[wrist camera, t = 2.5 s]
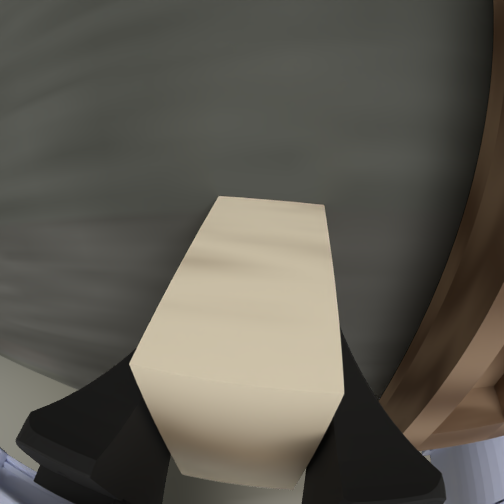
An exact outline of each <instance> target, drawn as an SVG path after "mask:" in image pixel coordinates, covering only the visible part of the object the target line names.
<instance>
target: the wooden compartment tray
mask: <svg viewBox="0 0 504 504" xmlns="http://www.w3.org/2000/svg"><path fill="white" fill-rule="evenodd" d="M493 9H494V39H493V60H492V73H491V84H490V93H489V101H488V108H487V115H486V121H485V127H484V132H483V138H482V143H481V148H480V153H479V157H478V162H477V166H476V170H475V175H474V179H473V182H472V186H471V190H470V194H469V197H468V201H467V204H466V208H465V211H464V214H463V218H462V221H461V224H460V227H459V230H458V233H457V236H456V239H455V242H454V245H453V248H452V250H451V253H450V256H449V259H448V261H447V264H446V267H445V269H444V272H443V274H442V277H441V279H440V282H439V284H438V286H437V289H436V291H435V294H434V296H433V298H432V301H431V303H430V305H429V307H428V309H427V312H426V314H425V316H424V318H423V320H422V322H421V325H420V327H419V329H418V331H417V333H416V335H415V337H414V339H413V341H412V343H411V345H410V347H409V349H408V350H407V352H406V354H405V356H404V358H403V360H402V362H401V364H400V365H399V367H398V369H397V371H396V373H395V374H394V376H393V378H392V380H391V381H390V383H389V385H388V386H387V388H386V390H385V392H384V393H383V395H382V396H381V398H380V400H379V403H380V404H381V406H382V407H383V409H384V410H385V411H386V413H387V414H388V416H389V417H390V418H391V420H392V421H393V422H394V423H395V425H396V426H397V427H398V428H399V429H400V431H401V432H402V433H403V434H404V435H405V437H406V438H407V439H408V440H409V441H410V443H411V444H412V445H413V446H414V447H415V448H416V449H417V450H418V451H424V450H432V449H439V448H446V447H452V446H458V445H464V444H469V443H474V442H479V441H484V440H488V439H492V438H497V437H501V436H504V0H493Z"/></svg>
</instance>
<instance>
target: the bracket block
mask: <svg viewBox="0 0 504 504" xmlns="http://www.w3.org/2000/svg"><path fill="white" fill-rule="evenodd" d="M129 365H130V367H131V370H132V372H133V375H134V377H135V380H136V382H137V384H138V387H139V389H140V391H141V394H142V396H143V398H144V400H145V403H146V405H147V407H148V409H149V411H150V413H151V415H152V418H153V420H154V422H155V424H156V426H157V428H158V430H159V432H160V434H161V436H162V438H163V440H164V442H165V444H166V446H167V448H168V450H169V451H170V453H171V455H172V457H173V459H174V461H175V462H176V464H177V466H178V468H179V470H180V471H181V473H182V474H183V475H187V476H192V477H197V478H202V479H207V480H213V481H219V482H224V483H230V484H237V485H245V486H252V487H261V488H273V489H285V490H293V489H294V487H295V486H296V484H297V482H298V481H299V479H300V477H301V476H302V474H303V472H304V471H305V469H306V467H307V465H308V464H309V462H310V460H311V458H312V456H313V455H314V453H315V451H316V449H317V447H318V445H319V444H320V442H321V440H322V438H323V436H324V434H325V432H326V430H327V428H328V426H329V424H330V422H331V420H332V418H333V416H334V414H335V412H336V410H337V408H338V406H339V404H340V402H341V399H342V397H343V395H344V379H343V363H342V350H341V338H340V327H339V316H338V306H337V297H336V288H335V279H334V271H333V263H332V256H331V248H330V241H329V234H328V227H327V221H326V214H325V208H324V205H319V204H309V203H299V202H288V201H277V200H265V199H253V198H239V197H225V196H219V197H218V198H217V200H216V202H215V204H214V205H213V207H212V209H211V210H210V212H209V214H208V216H207V217H206V219H205V221H204V223H203V224H202V226H201V228H200V230H199V231H198V233H197V235H196V237H195V239H194V240H193V242H192V244H191V246H190V248H189V249H188V251H187V253H186V255H185V257H184V258H183V260H182V262H181V264H180V266H179V268H178V270H177V271H176V273H175V275H174V277H173V279H172V281H171V283H170V284H169V286H168V288H167V290H166V292H165V294H164V296H163V298H162V300H161V302H160V303H159V305H158V307H157V309H156V311H155V313H154V315H153V317H152V319H151V321H150V323H149V325H148V327H147V329H146V331H145V333H144V335H143V337H142V339H141V341H140V343H139V345H138V347H137V349H136V351H135V353H134V355H133V357H132V359H131V361H130V363H129Z"/></svg>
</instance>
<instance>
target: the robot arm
mask: <svg viewBox="0 0 504 504" xmlns="http://www.w3.org/2000/svg"><path fill="white" fill-rule="evenodd" d="M339 327H340V325H339ZM340 338H341V350H342V363H343V379H344V395H343V397H342V399H341V402H340V404H339V406H338V408H337V410H336V412H335V414H334V416H333V418H332V420H331V422H330V424H329V426H328V428H327V430H326V432H325V434H324V436H323V438H322V440H321V442H320V444H319V445H318V447H317V449H316V451H315V453H314V455H313V456H312V458H311V460H310V462H309V464H308V465H307V467H306V476H305V483H304V491H303V498H302V504H504V436H501V437H497V438H492V439H488V440H484V441H479V442H474V443H469V444H464V445H458V446H452V447H446V448H439V449H432V450H424V451H422V454H421V453H420V452H419V451H418V450H417V449H416V448H415V447H414V446H413V445H412V444H411V443H410V441H409V440H408V439H407V438H406V437H405V435H404V434H403V433H402V432H401V431H400V429H399V428H398V427H397V426H396V425H395V423H394V422H393V421H392V420H391V418H390V417H389V416H388V414H387V413H386V411H385V410H384V409H383V407H382V406H381V404H380V403H379V401H378V400H377V398H376V397H375V395H374V394H373V392H372V390H371V389H370V387H369V385H368V383H367V382H366V380H365V378H364V376H363V375H362V373H361V371H360V369H359V367H358V365H357V363H356V361H355V359H354V357H353V355H352V353H351V351H350V349H349V347H348V344H347V342H346V340H345V338H344V335H343V333H342V330H341V328H340ZM136 349H137V348H136ZM136 349H135V350H134V351H132V352H131V353H130V354H129V355H128V356H127V357H126V358H124V359H123V360H122V361H121V362H119V363H118V364H117V365H116V366H114V367H113V368H112V369H110V370H109V371H108V372H106V373H105V374H103V375H102V376H100V377H99V378H97V379H96V380H94V381H93V382H91V383H90V384H88V385H87V386H85V387H83V388H81V389H80V390H78V391H76V392H74V393H72V394H71V395H69V396H67V397H65V398H63V399H61V400H59V401H57V402H54V403H52V404H50V405H47V406H45V407H42V408H40V409H37V410H35V411H32V412H31V413H30V414H29V416H28V418H27V419H26V421H25V423H24V425H23V427H22V429H21V431H20V433H19V434H18V436H17V438H16V444H17V445H18V446H19V448H21V449H22V450H23V451H24V452H25V453H26V454H27V455H29V456H30V457H31V458H32V459H34V460H35V461H36V462H38V463H39V464H40V467H39V469H38V472H36V471H34V470H32V469H31V468H29V467H27V466H26V465H24V464H22V463H21V462H19V461H17V460H16V459H14V458H13V457H11V456H10V455H8V454H7V453H6V452H5V451H4V450H3V449H2V448H0V504H162V501H163V494H164V488H165V482H166V476H167V471H168V466H169V461H170V456H171V453H170V451H169V450H168V448H167V446H166V444H165V442H164V440H163V438H162V436H161V434H160V432H159V430H158V428H157V426H156V424H155V422H154V420H153V418H152V415H151V413H150V411H149V409H148V407H147V405H146V403H145V400H144V398H143V396H142V394H141V391H140V389H139V387H138V384H137V382H136V380H135V377H134V375H133V372H132V370H131V367H130V365H129V363H130V361H131V359H132V357H133V355H134V353H135V351H136ZM426 455H430V458H431V463H430V462H429V461H428V460H427V459H426V458H425V457H424V456H426Z"/></svg>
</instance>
